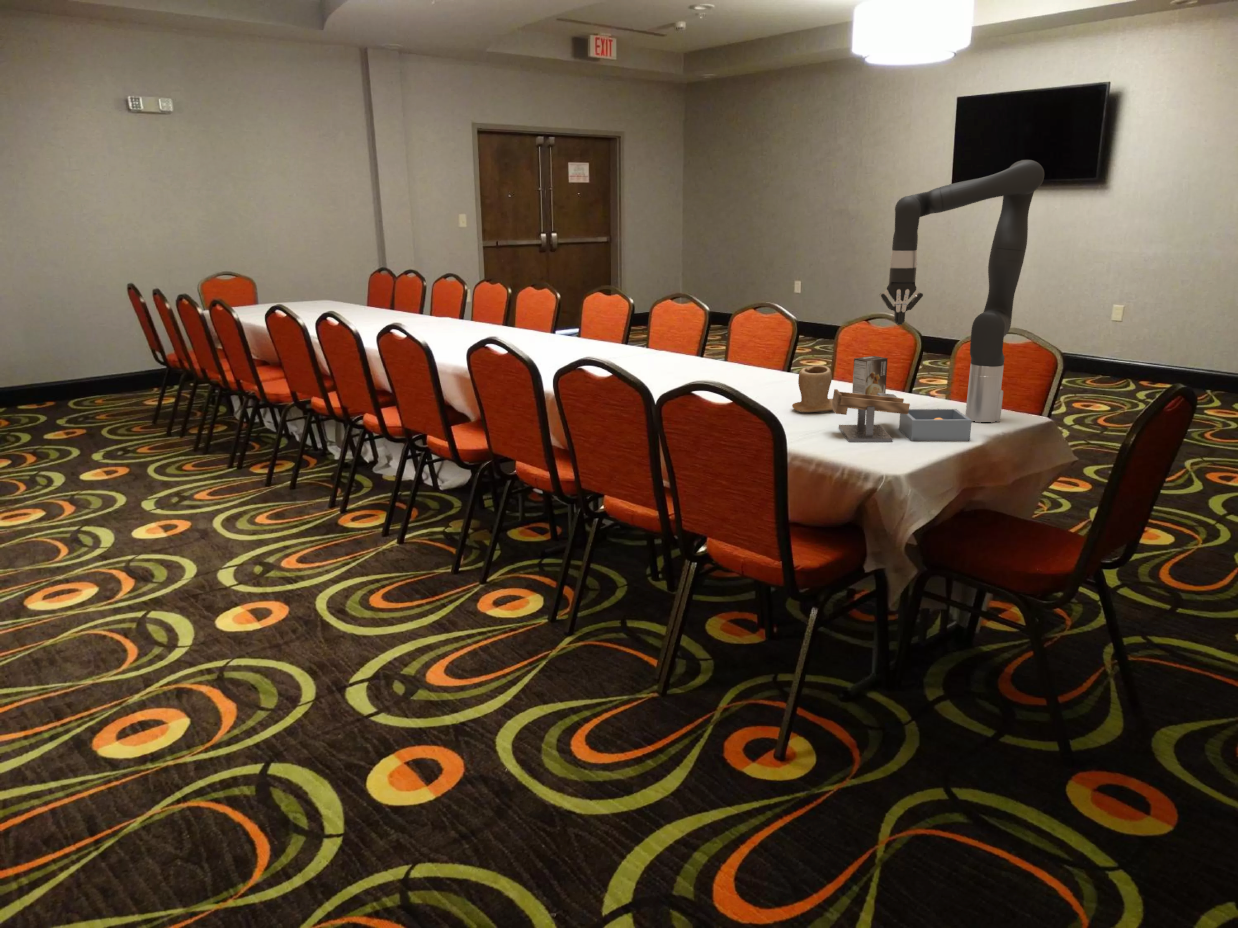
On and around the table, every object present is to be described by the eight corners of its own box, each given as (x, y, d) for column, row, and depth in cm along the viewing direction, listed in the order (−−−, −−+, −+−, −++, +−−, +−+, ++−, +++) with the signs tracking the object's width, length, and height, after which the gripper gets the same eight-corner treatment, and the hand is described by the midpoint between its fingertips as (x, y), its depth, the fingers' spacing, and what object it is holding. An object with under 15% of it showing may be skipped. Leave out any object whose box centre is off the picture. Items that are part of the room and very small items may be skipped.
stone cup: (800, 417, 266) (802, 370, 262) (788, 408, 278) (790, 363, 273) (846, 414, 268) (849, 368, 264) (832, 406, 279) (834, 361, 275)
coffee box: (871, 402, 284) (874, 355, 279) (885, 406, 278) (888, 358, 274) (850, 405, 280) (853, 357, 275) (864, 409, 274) (867, 360, 270)
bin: (954, 428, 248) (955, 408, 247) (969, 441, 235) (971, 420, 233) (898, 428, 249) (900, 409, 248) (911, 441, 236) (913, 420, 234)
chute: (891, 407, 255) (895, 389, 253) (907, 421, 237) (910, 402, 236) (825, 400, 255) (828, 382, 254) (836, 414, 238) (839, 395, 236)
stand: (879, 428, 251) (881, 396, 248) (892, 442, 235) (894, 408, 233) (838, 428, 252) (840, 396, 249) (848, 442, 236) (850, 408, 234)
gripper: (922, 265, 253) (917, 322, 258) (877, 265, 254) (874, 323, 259) (929, 266, 246) (924, 325, 251) (883, 267, 247) (879, 326, 252)
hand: (898, 324), depth 255 cm, fingers closed
